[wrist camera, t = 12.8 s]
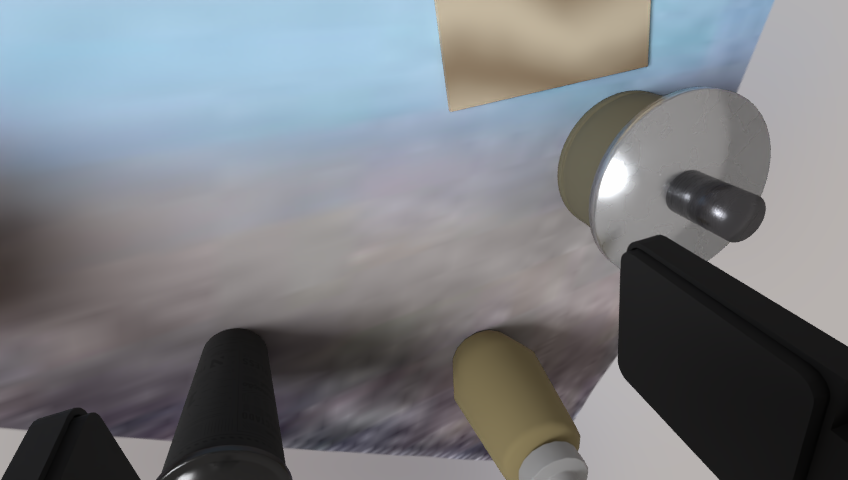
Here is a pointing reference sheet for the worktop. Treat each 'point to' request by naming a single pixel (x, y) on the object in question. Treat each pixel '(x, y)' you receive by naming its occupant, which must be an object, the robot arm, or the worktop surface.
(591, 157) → the can
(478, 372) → the squeeze bottle
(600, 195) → the lid
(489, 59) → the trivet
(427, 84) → the worktop surface
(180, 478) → the drinking cup
